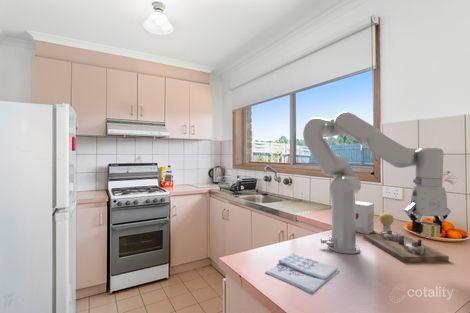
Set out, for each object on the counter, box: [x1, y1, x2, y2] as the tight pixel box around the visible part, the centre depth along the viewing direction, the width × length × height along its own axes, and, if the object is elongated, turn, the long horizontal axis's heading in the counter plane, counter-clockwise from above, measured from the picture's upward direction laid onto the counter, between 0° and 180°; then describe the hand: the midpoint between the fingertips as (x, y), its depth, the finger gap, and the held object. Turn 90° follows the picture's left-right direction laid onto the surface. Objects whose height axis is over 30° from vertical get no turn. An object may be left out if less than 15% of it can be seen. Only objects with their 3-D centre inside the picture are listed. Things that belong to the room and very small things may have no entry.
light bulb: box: [378, 212, 395, 232], centre depth 128 cm, size 6×6×10 cm
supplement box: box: [355, 200, 375, 235], centre depth 130 cm, size 9×9×15 cm
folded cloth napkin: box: [264, 253, 340, 295], centre depth 84 cm, size 19×20×2 cm
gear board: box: [363, 229, 450, 263], centre depth 105 cm, size 18×26×6 cm
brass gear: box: [415, 219, 441, 239], centre depth 86 cm, size 7×7×4 cm
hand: (426, 232), depth 86 cm, fingers closed on brass gear, 7 cm apart
